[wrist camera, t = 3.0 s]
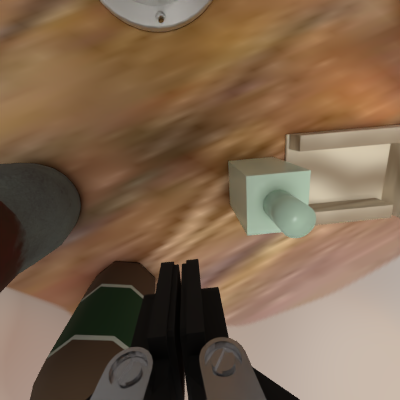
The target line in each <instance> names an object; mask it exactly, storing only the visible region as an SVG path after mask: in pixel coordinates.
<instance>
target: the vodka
mask: <svg viewBox="0 0 400 400" xmlns="http://www.w3.org/2000/svg"><path fill="white" fill-rule="evenodd" d="M80 208H81V204H80V198H79V194H78V192H77V190H76V188H75V186H74V185H73V183H72V182H71V181H70V180H69V179H68V178H67V177H66V176H65V175H63V174H62V173H60V172H59V171H57V170H55V169H54V168H50V167H47V166H44V165H39V164H34V163H12V164H0V292H1V291H2V290H3V289H4V288H5V287H6V286H7V285H8V284H9V283H10V282H11V281H12V280H13V279H14V278H15V277H16V276H17V275H18V274H19V273H21V272H22V271H24V270H25V269H27V268H28V267H30V266H32V265H33V264H35V263H36V262H38V261H39V260H40V259H42V258H43V257H45V256H46V255H48V254H49V253H51V252H52V251H53V250H55V249H56V248H57V247H59V246H60V245H61V244H62V243H63V242H64V240H65V239H66V238H67V236H68V235H69V234H70V232H71V231H72V229H73V228H74V226H75V224H76V223H77V220H78V217H79V213H80Z"/></svg>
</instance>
